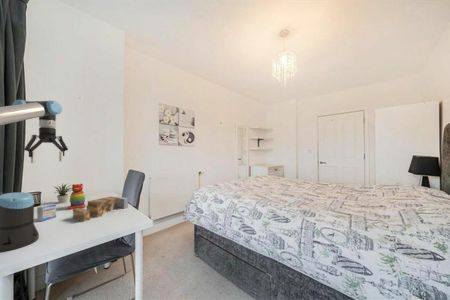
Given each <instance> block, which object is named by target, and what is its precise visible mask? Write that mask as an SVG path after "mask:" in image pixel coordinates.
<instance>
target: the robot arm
mask: <svg viewBox="0 0 450 300" xmlns="http://www.w3.org/2000/svg"><path fill="white" fill-rule="evenodd" d="M62 112H63V106H62V105H61V103H60V102H59V101H56V100H37V101H36V100H35V101H34V100H30V101H28V100H24V99H16V100H14V101H13V102H12V104H11V105H6V106H0V126H4V125H8V124H12V123H18V122H22V121H26V120H33V119H36V118H38V127H39V128H38V135H37V134H32V135H31V138H30V140H29V141H28V142H27V144H25V145H26V146H25V147H24V148H23V150H24V151H26V152H28V157H29V158H30V163H31V164H35V163H36V154H35V153H36V149H37V148H38V147H40V145H41V144H43V143H46V144H47V143H48V144H51V143H52V144H53V145H54V146H55V147H56V148H57V149H58V150H59V152H58V153H59V154H58V156H59V157H58V161H59V162H64V157H65V152H66V151H68V150H69V148H68V146H67V145H66V143H65V142H64V140H63V136H62V135H58V136H57V129H56V127H57V121H56V120H57V116H58V115H60V114H61V113H62ZM37 139H39V140H38V141H37V142H36V140H37ZM57 140H58V141H57ZM35 142H36V143H35ZM34 143H35V144H34ZM33 144H34V145H33ZM39 236H40V234H39V230H38V228H37V227H36V225H35V199H34V195H33V194H32V193H30V192H24V191H23V192H22V191H21V192H20V191H19V192H9V193H7V192H6V193H3V192H2V191H1V190H0V253H1V252H7V251H13V250H16V249H20V248H23V247H26V246H29V245H31V244H34V242H36V241H38V240H39V238H40V237H39Z"/></svg>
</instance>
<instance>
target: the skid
mask: <svg viewBox="0 0 450 300" xmlns="http://www.w3.org/2000/svg"><path fill="white" fill-rule="evenodd" d="M114 209H115V207H114V204H110V205H106V206H102V215H104V214H106V213H108V211H109V212H111V211H112V210H114Z"/></svg>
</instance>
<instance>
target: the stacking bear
mask: <svg viewBox="0 0 450 300" xmlns="http://www.w3.org/2000/svg"><path fill="white" fill-rule="evenodd" d="M71 188H72V189H71V194H70V196H69V202H70V205H69V206H67V210H68V211H70V210H73V209H75V208H82V209H86V208H87V205H86V204H85V202H86V194H85V192H84V191H83V189H84V185H83V183H80V184H79V183H77V184H71Z"/></svg>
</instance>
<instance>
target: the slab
mask: <svg viewBox="0 0 450 300" xmlns="http://www.w3.org/2000/svg"><path fill="white" fill-rule="evenodd" d="M116 197H117V196H106V197H101V198H97V199H93V200H87V205H88V206H91V207H96V208H97V207H102V206H106V205H110V204H114V203H118V202H119V198H116Z"/></svg>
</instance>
